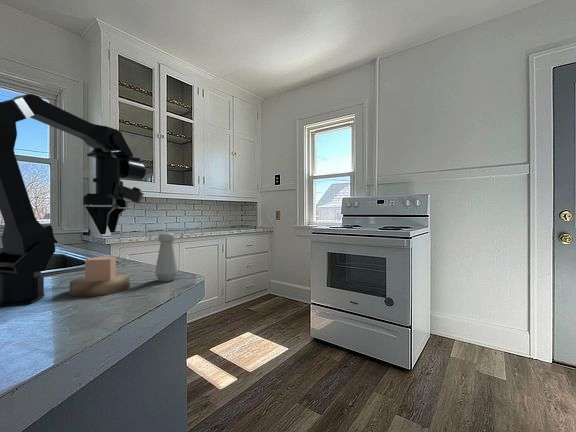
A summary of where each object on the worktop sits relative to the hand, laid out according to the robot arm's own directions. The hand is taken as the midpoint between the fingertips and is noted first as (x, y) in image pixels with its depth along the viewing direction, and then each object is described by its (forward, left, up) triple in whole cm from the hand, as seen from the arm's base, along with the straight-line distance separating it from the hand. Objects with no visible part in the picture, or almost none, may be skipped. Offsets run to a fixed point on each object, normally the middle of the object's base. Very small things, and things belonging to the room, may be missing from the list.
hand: (108, 233), depth 77 cm
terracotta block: (+1, -10, -10) cm, 15 cm away
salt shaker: (+15, -4, -13) cm, 20 cm away
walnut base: (+1, -10, -13) cm, 16 cm away
